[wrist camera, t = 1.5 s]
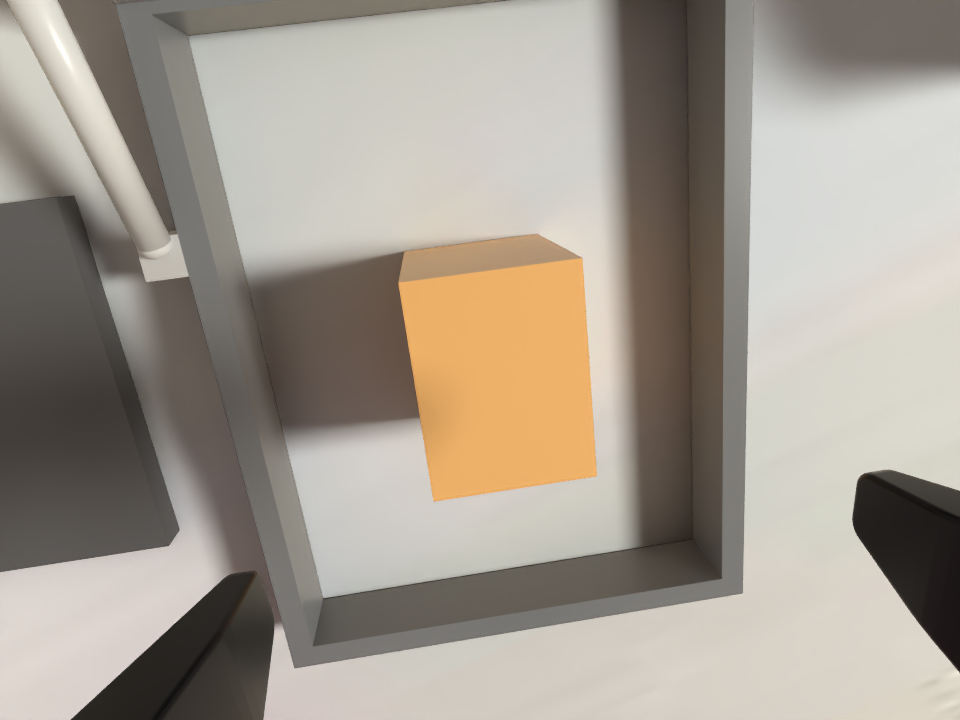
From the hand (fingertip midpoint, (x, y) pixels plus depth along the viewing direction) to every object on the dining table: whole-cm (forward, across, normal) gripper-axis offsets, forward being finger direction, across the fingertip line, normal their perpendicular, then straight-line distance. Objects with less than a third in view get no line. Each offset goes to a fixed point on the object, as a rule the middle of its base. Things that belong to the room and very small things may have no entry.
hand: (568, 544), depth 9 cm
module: (+13, 0, +1) cm, 13 cm away
